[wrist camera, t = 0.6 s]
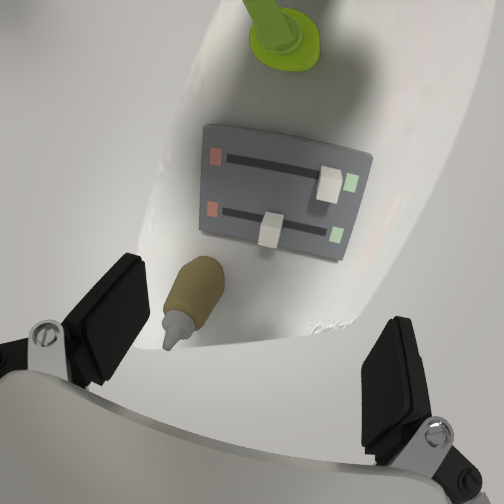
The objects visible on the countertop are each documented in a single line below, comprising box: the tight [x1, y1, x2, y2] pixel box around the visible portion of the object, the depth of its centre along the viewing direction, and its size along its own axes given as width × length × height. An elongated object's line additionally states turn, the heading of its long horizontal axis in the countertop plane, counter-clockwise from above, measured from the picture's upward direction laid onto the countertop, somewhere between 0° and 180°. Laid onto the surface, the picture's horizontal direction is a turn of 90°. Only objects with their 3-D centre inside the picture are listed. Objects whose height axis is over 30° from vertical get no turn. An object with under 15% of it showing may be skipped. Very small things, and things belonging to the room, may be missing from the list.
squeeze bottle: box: [162, 256, 224, 351], centre depth 45 cm, size 8×8×18 cm
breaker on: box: [316, 166, 343, 204], centre depth 35 cm, size 3×2×4 cm
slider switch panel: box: [199, 124, 373, 260], centre depth 41 cm, size 16×22×2 cm
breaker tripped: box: [258, 211, 284, 249], centre depth 41 cm, size 3×2×4 cm
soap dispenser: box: [243, 0, 320, 72], centre depth 22 cm, size 6×7×20 cm
